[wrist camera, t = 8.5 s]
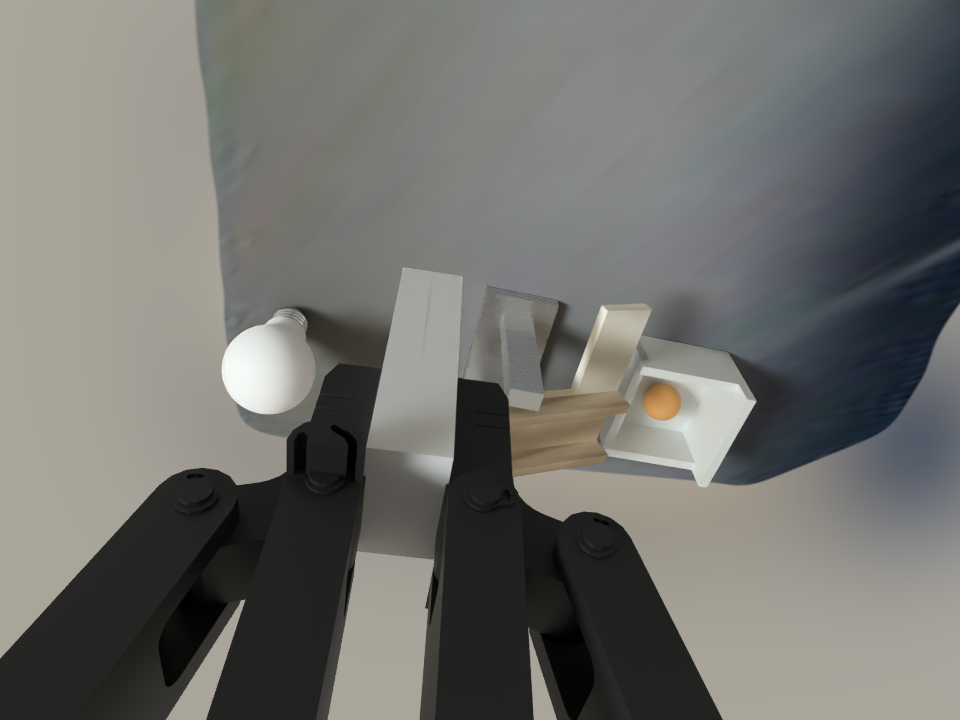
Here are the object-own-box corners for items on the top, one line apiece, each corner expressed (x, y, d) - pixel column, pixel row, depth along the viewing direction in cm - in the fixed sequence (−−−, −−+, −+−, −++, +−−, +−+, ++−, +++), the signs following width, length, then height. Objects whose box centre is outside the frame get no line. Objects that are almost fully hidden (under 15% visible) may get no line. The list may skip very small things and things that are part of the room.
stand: (486, 286, 55) (490, 366, 45) (557, 300, 55) (575, 382, 46) (454, 409, 62) (451, 501, 52) (517, 420, 62) (526, 512, 53)
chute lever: (412, 302, 42) (436, 339, 39) (637, 296, 50) (672, 327, 47) (380, 462, 49) (398, 504, 46) (581, 434, 57) (608, 468, 54)
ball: (692, 401, 57) (679, 378, 59) (657, 397, 56) (646, 374, 59) (677, 430, 58) (665, 406, 61) (644, 426, 58) (633, 402, 60)
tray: (630, 333, 57) (648, 381, 51) (728, 352, 58) (756, 401, 53) (594, 418, 62) (607, 471, 57) (685, 434, 64) (706, 487, 58)
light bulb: (236, 319, 56) (191, 399, 47) (280, 265, 53) (240, 339, 44) (303, 363, 59) (273, 447, 49) (348, 313, 56) (324, 393, 47)
